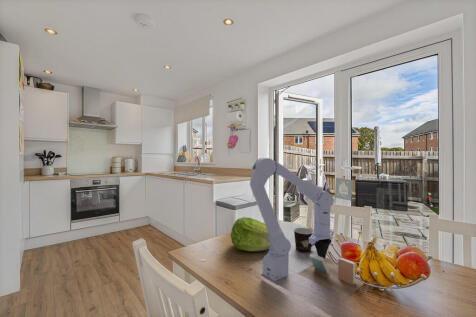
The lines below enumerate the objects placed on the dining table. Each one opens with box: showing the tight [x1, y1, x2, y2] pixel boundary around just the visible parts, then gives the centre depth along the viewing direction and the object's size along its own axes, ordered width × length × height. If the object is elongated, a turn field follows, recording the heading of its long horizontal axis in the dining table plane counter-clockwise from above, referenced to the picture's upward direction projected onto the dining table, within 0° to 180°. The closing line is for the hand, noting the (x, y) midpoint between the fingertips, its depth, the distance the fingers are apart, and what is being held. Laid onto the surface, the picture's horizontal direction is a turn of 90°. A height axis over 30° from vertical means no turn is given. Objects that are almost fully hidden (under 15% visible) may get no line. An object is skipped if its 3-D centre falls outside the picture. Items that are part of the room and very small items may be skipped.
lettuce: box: [230, 216, 271, 253], centre depth 104 cm, size 17×24×14 cm
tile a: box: [308, 252, 329, 273], centre depth 80 cm, size 2×5×7 cm
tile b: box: [337, 257, 356, 285], centre depth 75 cm, size 2×5×7 cm, turn 39°
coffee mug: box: [293, 227, 315, 254], centre depth 99 cm, size 12×9×10 cm
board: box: [297, 257, 365, 299], centre depth 79 cm, size 20×18×1 cm
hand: (321, 258), depth 82 cm, fingers closed
